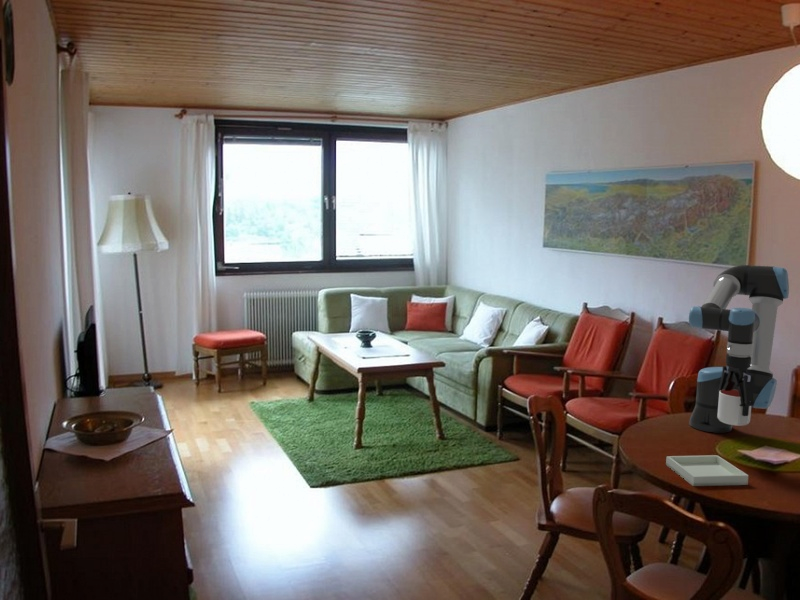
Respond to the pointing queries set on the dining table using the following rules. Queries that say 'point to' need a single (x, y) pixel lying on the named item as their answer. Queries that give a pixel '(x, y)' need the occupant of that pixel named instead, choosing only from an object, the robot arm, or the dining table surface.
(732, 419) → the cup
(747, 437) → the dining table surface
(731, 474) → the tray
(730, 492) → the dining table surface
